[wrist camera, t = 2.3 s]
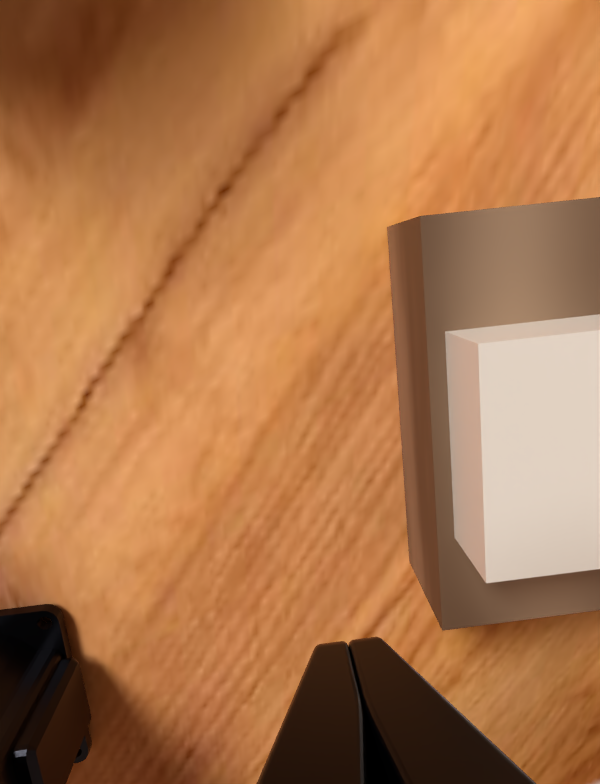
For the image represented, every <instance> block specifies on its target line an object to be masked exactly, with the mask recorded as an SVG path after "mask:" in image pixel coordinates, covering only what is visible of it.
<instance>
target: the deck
mask: <svg viewBox="0 0 600 784" xmlns="http://www.w3.org/2000/svg"><path fill="white" fill-rule="evenodd" d="M387 230H388V245H389V260H390V275H391V290H392V305H393V320H394V335H395V350H396V365H397V380H398V395H399V410H400V425H401V440H402V455H403V470H404V485H405V500H406V515H407V530H408V545H409V560H410V564H411V566H412V568H413V570H414V572H415V574H416V576H417V578H418V581H419V583H420V585H421V587H422V589H423V591H424V593H425V595H426V597H427V599H428V601H429V603H430V606H431V608H432V610H433V612H434V614H435V616H436V618H437V620H438V622H439V624H440V626H441V628H442V630H450V629H458V628H465V627H473V626H481V625H489V624H496V623H504V622H512V621H520V620H527V619H535V618H543V617H550V616H558V615H566V614H574V613H581V612H589V611H597V610H600V569H595V570H588V571H580V572H572V573H564V574H556V575H548V576H540V577H532V578H524V579H517V580H509V581H501V582H493V583H486V582H485V581H484V580H483V578H482V577H481V575H480V574H479V572H478V571H477V569H476V568H475V566H474V565H473V564H472V562H471V561H470V559H469V558H468V556H467V555H466V553H465V552H464V551H463V549H462V548H461V546H460V545H459V543H458V542H457V540H456V539H455V536H454V514H453V493H452V471H451V449H450V428H449V406H448V385H447V363H446V341H445V332H446V331H455V330H464V329H473V328H482V327H491V326H500V325H509V324H518V323H527V322H536V321H545V320H554V319H563V318H571V317H580V316H589V315H598V314H600V197H597V198H588V199H578V200H569V201H559V202H550V203H540V204H531V205H521V206H512V207H502V208H493V209H483V210H474V211H464V212H455V213H445V214H436V215H426V216H419V217H416V218H413V219H410V220H407V221H404V222H401V223H398V224H395V225H392V226H389V227H387Z"/></svg>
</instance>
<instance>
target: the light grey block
mask: <svg viewBox="0 0 600 784" xmlns="http://www.w3.org/2000/svg"><path fill="white" fill-rule="evenodd" d="M445 341H446V363H447V385H448V406H449V428H450V449H451V471H452V493H453V514H454V536H455V539H456V540H457V542H458V543H459V545H460V546H461V548H462V549H463V551H464V552H465V553H466V555H467V556H468V558H469V559H470V561H471V562H472V564H473V565H474V566H475V568H476V569H477V571H478V572H479V574H480V575H481V577H482V578H483V580H484V581H485V582H486V583H493V582H501V581H509V580H517V579H524V578H532V577H540V576H548V575H556V574H564V573H572V572H580V571H588V570H595V569H600V314H598V315H589V316H580V317H571V318H563V319H554V320H545V321H536V322H527V323H518V324H509V325H500V326H491V327H482V328H473V329H464V330H455V331H446V332H445Z"/></svg>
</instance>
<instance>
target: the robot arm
mask: <svg viewBox="0 0 600 784" xmlns="http://www.w3.org/2000/svg"><path fill="white" fill-rule="evenodd" d="M42 617H47V618H49V619H50V620H51V621H52V622H51V623H48V622H45V621H44V620H43V619H42ZM90 720H91V714H90V709H89V705H88V700H87V696H86V691H85V687H84V682H83V678H82V673H81V669H80V664H79V662H78V661H77V660H76V659H75V658H73V657H72V653H71V648H70V644H69V639H68V635H67V630H66V626H65V622H64V617H63V614H62V612H61V610H60V609H59V608H58V607H57V606H54V605H52V604H44V605H36V606H28V607H20V608H12V609H4V610H0V784H66V782H67V779H68V776H69V774H70V771H71V769H72V766H73V764H74V763H78V762H81V761H83V760H84V759H86V757H87V755H88V753H89V750H90V748H91V737H90V733H89V728H88V725H89V723H90ZM79 748H80V749H79ZM257 784H536V783H535V782H534V781H533V780H532V779H531V778H530V777H529V776H527V775H526V774H525V773H524V772H523V771H522V770H521V769H520V768H519V767H518V766H517V765H516V764H515V763H514V762H513V761H511V760H510V759H509V758H508V757H507V756H506V755H505V754H504V753H503V752H502V751H501V750H500V749H499V748H498V747H497V746H495V745H494V744H493V743H492V742H491V741H490V740H489V739H488V738H487V737H486V736H485V735H484V734H483V733H482V732H481V731H479V730H478V729H477V728H476V727H475V726H474V725H473V724H472V723H471V722H470V721H469V720H468V719H467V718H466V717H465V716H463V715H462V714H461V713H460V712H459V711H458V710H457V709H456V708H455V707H454V706H453V705H452V704H451V703H450V702H449V701H447V700H446V699H445V698H444V697H443V696H442V695H441V694H440V693H439V692H438V691H437V690H436V689H435V688H434V687H433V686H431V685H430V684H429V683H428V682H427V681H426V680H425V679H424V678H423V677H422V676H421V675H420V674H419V673H418V672H417V671H415V670H414V669H413V668H412V667H411V666H410V665H409V664H408V663H407V662H406V661H405V660H404V659H403V658H402V657H401V656H399V655H398V654H397V653H396V652H395V651H394V650H393V649H392V648H391V647H390V646H389V645H388V644H387V643H386V642H384V641H383V640H382V639H381V638H379V637H371V638H364V639H356V640H352V641H351V642H350V643H349V647H348V645H347V643H346V642H344V641H340V642H332V643H325V644H319V645H317V646H316V647H315V649H314V651H313V653H312V655H311V658H310V660H309V662H308V665H307V667H306V669H305V672H304V674H303V676H302V679H301V681H300V683H299V686H298V688H297V690H296V693H295V695H294V697H293V700H292V702H291V705H290V707H289V709H288V712H287V714H286V716H285V719H284V721H283V723H282V726H281V728H280V730H279V733H278V735H277V737H276V740H275V742H274V744H273V747H272V749H271V751H270V754H269V756H268V758H267V761H266V763H265V766H264V768H263V770H262V773H261V775H260V777H259V780H258V782H257Z"/></svg>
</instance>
